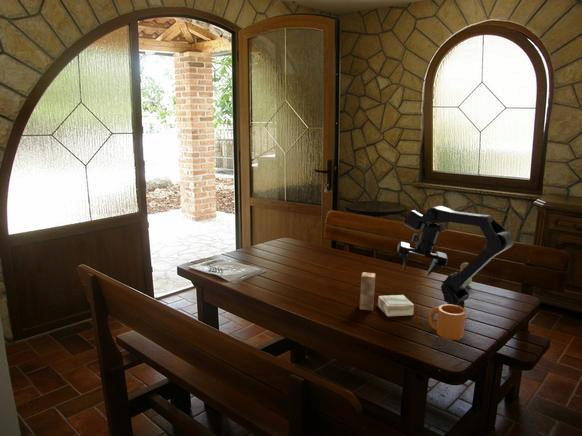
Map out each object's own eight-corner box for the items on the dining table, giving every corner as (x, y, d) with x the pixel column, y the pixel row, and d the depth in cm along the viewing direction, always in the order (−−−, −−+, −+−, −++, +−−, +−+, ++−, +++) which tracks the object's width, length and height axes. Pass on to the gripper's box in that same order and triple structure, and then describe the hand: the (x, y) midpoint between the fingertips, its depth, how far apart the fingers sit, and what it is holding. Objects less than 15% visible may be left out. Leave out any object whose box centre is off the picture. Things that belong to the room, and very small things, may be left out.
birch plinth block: (413, 315, 176) (414, 304, 175) (387, 316, 174) (388, 305, 173) (402, 304, 186) (403, 294, 185) (377, 305, 184) (378, 295, 183)
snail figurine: (474, 288, 205) (477, 261, 203) (458, 286, 207) (461, 260, 204) (472, 284, 211) (475, 258, 208) (457, 282, 212) (460, 256, 209)
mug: (436, 323, 170) (439, 299, 168) (468, 334, 161) (471, 309, 159) (422, 330, 164) (425, 305, 162) (455, 342, 155) (457, 317, 153)
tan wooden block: (373, 305, 184) (375, 273, 181) (372, 310, 179) (375, 277, 176) (360, 304, 185) (362, 271, 182) (359, 309, 180) (361, 276, 177)
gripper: (450, 235, 186) (437, 269, 192) (403, 222, 188) (392, 256, 194) (453, 247, 176) (439, 282, 182) (404, 233, 178) (392, 269, 184)
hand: (415, 272), depth 186 cm, fingers open, 9 cm apart
